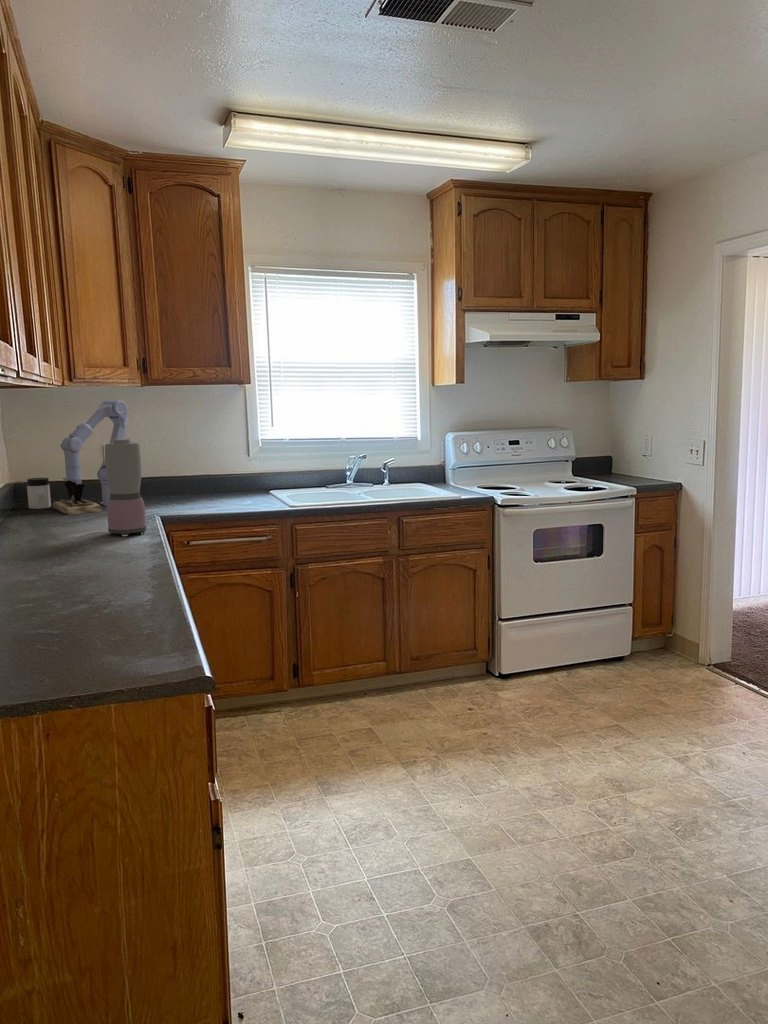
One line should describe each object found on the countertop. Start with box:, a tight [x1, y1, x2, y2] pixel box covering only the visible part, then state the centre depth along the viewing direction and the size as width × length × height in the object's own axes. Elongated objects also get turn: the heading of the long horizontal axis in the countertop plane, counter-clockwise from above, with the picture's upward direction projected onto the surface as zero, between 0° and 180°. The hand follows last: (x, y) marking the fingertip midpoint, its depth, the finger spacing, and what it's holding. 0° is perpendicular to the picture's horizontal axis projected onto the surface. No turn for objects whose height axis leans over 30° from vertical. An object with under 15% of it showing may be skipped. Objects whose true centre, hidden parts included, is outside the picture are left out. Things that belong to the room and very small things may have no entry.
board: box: [52, 498, 103, 516], centre depth 305 cm, size 13×22×3 cm, turn 37°
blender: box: [104, 438, 147, 536], centre depth 253 cm, size 16×12×32 cm
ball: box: [70, 495, 83, 504], centre depth 305 cm, size 4×4×4 cm
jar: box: [26, 477, 52, 510], centre depth 311 cm, size 9×8×12 cm
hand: (75, 499), depth 306 cm, fingers open, 7 cm apart
